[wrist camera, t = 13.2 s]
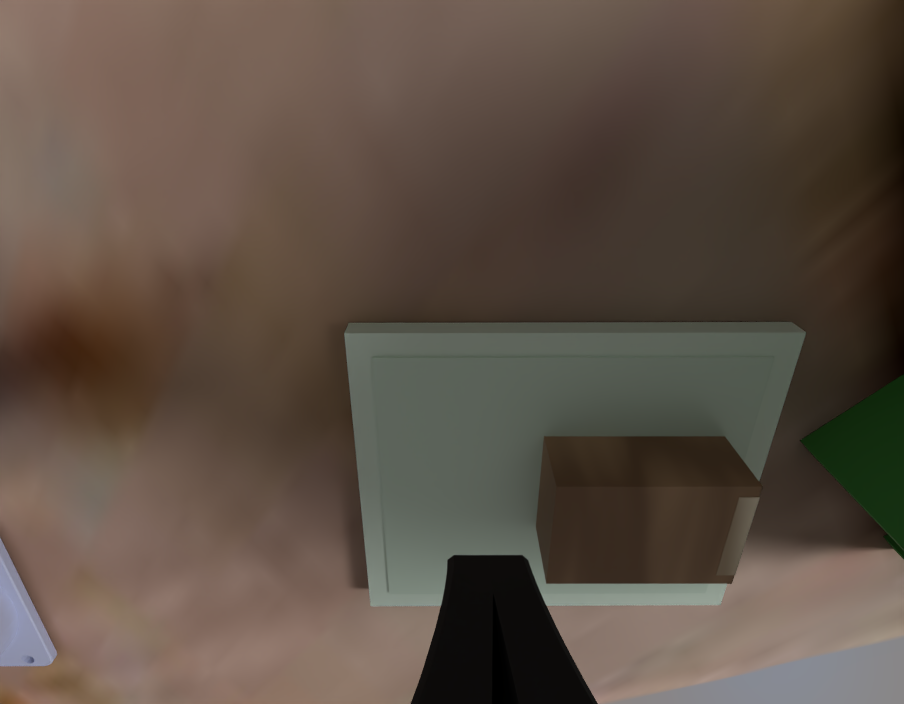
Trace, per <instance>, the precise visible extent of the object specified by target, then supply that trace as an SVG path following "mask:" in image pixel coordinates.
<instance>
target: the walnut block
mask: <svg viewBox="0 0 904 704" xmlns="http://www.w3.org/2000/svg"><path fill="white" fill-rule="evenodd" d="M762 488H763V486H762V485H761V483H760V482H759V481H758V480H757V478H756V477H755V476H754V474H753V473H752V472H751V470H750V469H749V468H748V466H747V465H746V464H745V462H744V461H743V460H742V458H741V457H740V456H739V454H738V453H737V452H736V450H735V449H734V448H733V446H732V445H731V444H730V442H729V441H728V440H727V438H726V437H725V436H544V441H543V452H542V463H541V474H540V485H539V497H538V508H537V519H536V531H537V537H538V542H539V547H540V553H541V558H542V564H543V569H544V574H545V580H546V584H732V581H733V578H734V575H735V573H736V570H737V567H738V564H739V561H740V558H741V555H742V552H743V548H744V545H745V542H746V539H747V536H748V533H749V530H750V527H751V524H752V520H753V517H754V514H755V511H756V508H757V505H758V502H759V499H760V494H761V491H762Z"/></svg>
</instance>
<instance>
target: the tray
mask: <svg viewBox="0 0 904 704" xmlns="http://www.w3.org/2000/svg"><path fill="white" fill-rule="evenodd" d="M805 335H806V332H805V331H804V330H802V329H801V328H799V327H798V326H797V325H795V324H794V323H793V322H504V323H348V325H347V328H346V330H345V333H344V336H345V346H346V357H347V367H348V377H349V388H350V398H351V408H352V419H353V429H354V439H355V450H356V460H357V470H358V481H359V491H360V501H361V512H362V522H363V532H364V543H365V553H366V563H367V574H368V584H369V594H370V605H371V606H441V604H442V599H443V594H444V589H445V582H446V575H447V560H448V559H449V558H451V557H452V556H453V555H523V556H524V557H525V558H526V559H527V560H528V561H529V564H530V567H531V570H532V573H533V575H534V578H535V580H536V583H537V585H538V588H539V590H540V593H541V595H542V597H543V599H544V602H545V604H546V606H580V605H721V602H722V598H723V595H724V592H725V589H726V586H727V584H546V580H545V574H544V569H543V564H542V558H541V553H540V547H539V542H538V537H537V531H536V519H537V508H538V497H539V485H540V474H541V463H542V452H543V441H544V436H725V437H726V438H727V440H728V441H729V442H730V444H731V445H732V446H733V448H734V449H735V450H736V452H737V453H738V454H739V456H740V457H741V458H742V460H743V461H744V462H745V464H746V465H747V466H748V468H749V469H750V470H751V472H752V473H753V474H754V476H755V477H756V478H757V480H758V481H760V478H761V475H762V471H763V468H764V465H765V462H766V459H767V456H768V452H769V449H770V446H771V443H772V440H773V437H774V433H775V430H776V427H777V424H778V421H779V418H780V414H781V411H782V408H783V405H784V402H785V399H786V395H787V392H788V389H789V386H790V383H791V379H792V376H793V373H794V370H795V367H796V364H797V360H798V357H799V354H800V351H801V348H802V345H803V341H804V338H805Z"/></svg>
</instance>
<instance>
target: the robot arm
mask: <svg viewBox="0 0 904 704" xmlns="http://www.w3.org/2000/svg"><path fill="white" fill-rule="evenodd" d="M56 655H57V652H56V649H55V647H54V645H53V643H52V641H51V639H50V637H49V635H48V633H47V631H46V629H45V627H44V625H43V623H42V621H41V619H40V617H39V615H38V613H37V611H36V609H35V607H34V605H33V603H32V601H31V599H30V597H29V595H28V593H27V591H26V589H25V587H24V585H23V583H22V581H21V579H20V577H19V574H18V572H17V570H16V568H15V566H14V564H13V562H12V560H11V558H10V556H9V554H8V552H7V550H6V548H5V546H4V544H3V542H2V540H1V538H0V666H47V665H49V664H51V663H52V662H53V660H54V659H55V657H56ZM411 704H598V703H597V702H596V700H595V698H594V696H593V695H592V693H591V691H590V689H589V688H588V686H587V684H586V682H585V681H584V679H583V677H582V675H581V673H580V671H579V669H578V668H577V666H576V664H575V662H574V660H573V658H572V656H571V655H570V653H569V651H568V649H567V647H566V645H565V643H564V641H563V639H562V637H561V635H560V633H559V631H558V629H557V627H556V625H555V623H554V621H553V619H552V617H551V615H550V613H549V610H548V608H547V606H546V604H545V602H544V599H543V597H542V595H541V593H540V590H539V588H538V585H537V583H536V580H535V578H534V575H533V573H532V570H531V567H530V564H529V561H528V560H527V559H526V558H525V557H524V556H523V555H453V556H452V557H451V558H449V559H448V560H447V575H446V582H445V589H444V594H443V599H442V604H441V608H440V612H439V616H438V620H437V624H436V628H435V632H434V635H433V638H432V642H431V645H430V648H429V651H428V655H427V658H426V661H425V665H424V668H423V671H422V674H421V677H420V680H419V683H418V686H417V688H416V691H415V694H414V696H413V699H412V702H411Z"/></svg>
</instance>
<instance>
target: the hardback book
mask: <svg viewBox="0 0 904 704" xmlns="http://www.w3.org/2000/svg"><path fill="white" fill-rule="evenodd" d="M800 441H801V442H802V443H803V444H804V446H805V447H806V448H807V449H808V450H809V451H810V453H811V454H812V455H813V456H814V457H815V458H816V459H817V460H818V461H819V462H820V463H821V464H822V465H823V467H824V468H825V469H826V470H827V471H828V472H829V473H830V474H831V475H832V476H833V477H834V478H835V479H836V480H837V481H838V482H839V483H840V484H841V485H842V486H843V488H844V489H845V490H846V491H847V492H848V493H849V494H850V495H851V496H852V497H853V498H854V499H855V500H856V501H857V502H858V503H859V504H860V505H861V506H862V508H863V509H864V510H865V511H866V512H867V513H868V514H869V515H870V516H871V517H872V518H873V519H874V520H875V521H876V522H877V523H878V524H879V525H880V526H881V527H882V529H883V530H884V531H885V532H886V533H887V535H885V536H884V538H885V539H886V540H887V542H888V543H889V544H890V545H891V546H892V547H893V548H894V550H895V551H896V552H897V553H898V554H899V555H900V556H901V557H902V558H903V559H904V374H903V375H902V376H900V377H898V378H897V379H895V380H894V381H892V382H891V383H889V384H888V385H886V386H884V387H883V388H881V389H880V390H878V391H877V392H875V393H873V394H872V395H870V396H869V397H867V398H866V399H864V400H863V401H861V402H859V403H858V404H856V405H855V406H853V407H852V408H850V409H849V410H847V411H845V412H844V413H842V414H841V415H839V416H838V417H836V418H834V419H833V420H831V421H830V422H828V423H827V424H825V425H824V426H822V427H820V428H819V429H817V430H816V431H814V432H813V433H811V434H809V435H808V436H806V437H805V438H803V439H802V440H800Z"/></svg>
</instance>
